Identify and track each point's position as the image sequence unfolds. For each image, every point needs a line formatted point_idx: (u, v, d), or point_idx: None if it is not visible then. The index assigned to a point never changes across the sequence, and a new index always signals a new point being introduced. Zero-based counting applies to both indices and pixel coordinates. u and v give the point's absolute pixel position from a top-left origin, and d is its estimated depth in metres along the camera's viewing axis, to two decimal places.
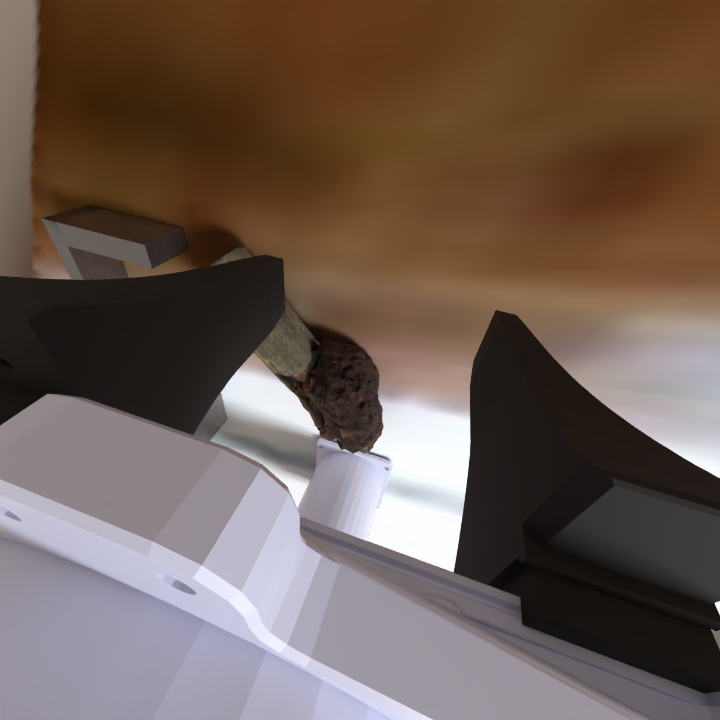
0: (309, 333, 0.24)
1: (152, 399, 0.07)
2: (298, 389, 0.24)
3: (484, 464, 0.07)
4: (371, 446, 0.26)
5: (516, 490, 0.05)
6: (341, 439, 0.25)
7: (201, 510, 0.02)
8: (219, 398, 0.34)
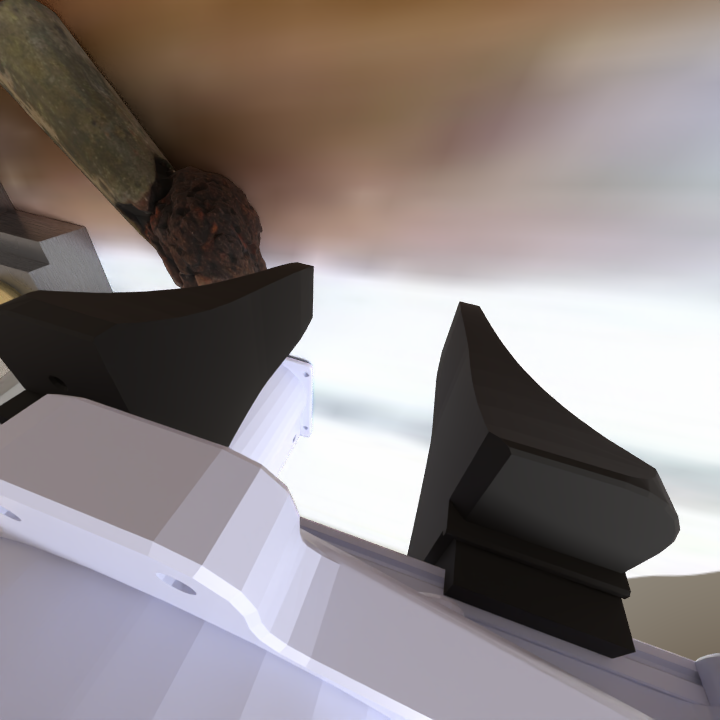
0: (158, 152, 0.18)
1: (196, 414, 0.07)
2: (148, 230, 0.19)
3: (437, 449, 0.08)
4: None
5: (450, 469, 0.06)
6: None
7: (201, 510, 0.02)
8: None
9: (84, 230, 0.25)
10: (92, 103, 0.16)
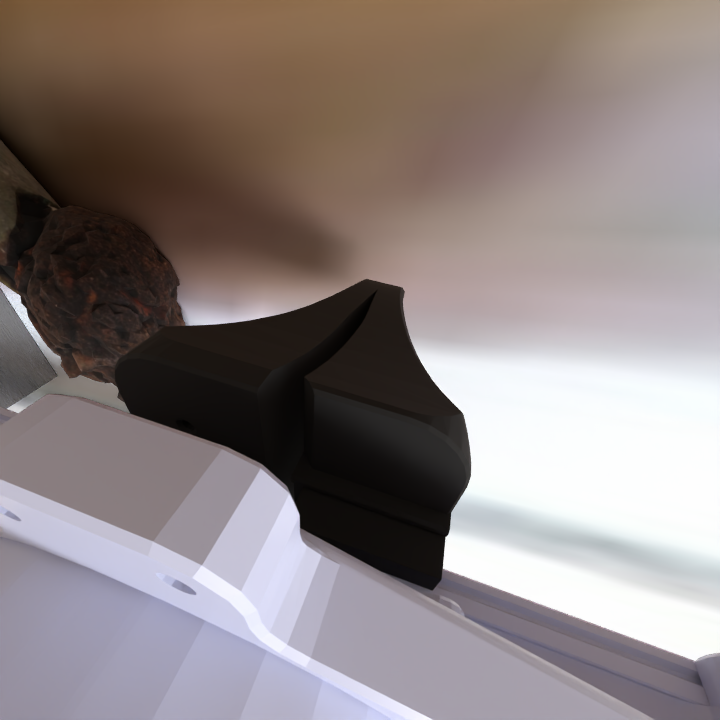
0: (26, 185, 0.14)
1: (299, 448, 0.07)
2: (17, 286, 0.14)
3: None
4: None
5: None
6: (102, 378, 0.15)
7: (201, 510, 0.02)
8: (26, 340, 0.23)
9: None
10: None
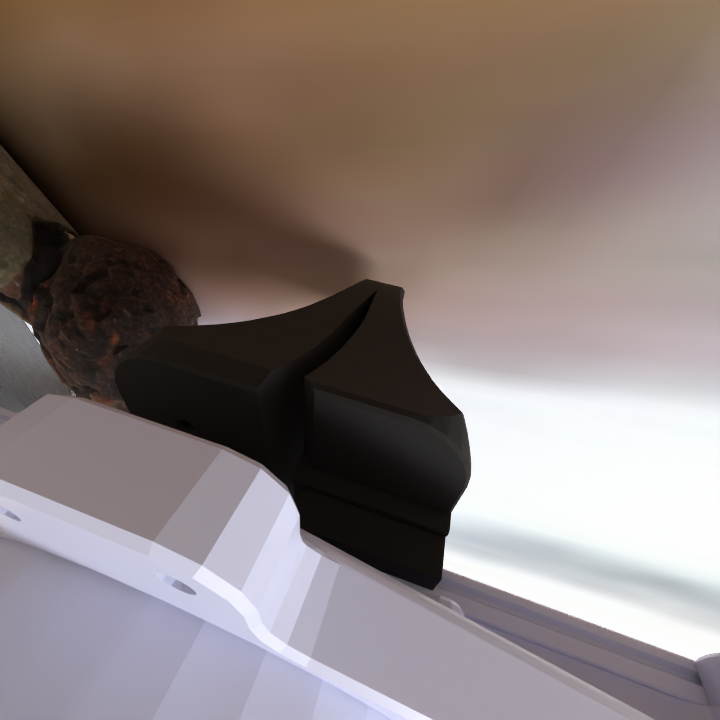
0: (42, 212, 0.13)
1: (299, 448, 0.07)
2: (29, 318, 0.13)
3: None
4: None
5: None
6: None
7: (201, 510, 0.02)
8: (40, 358, 0.22)
9: None
10: None
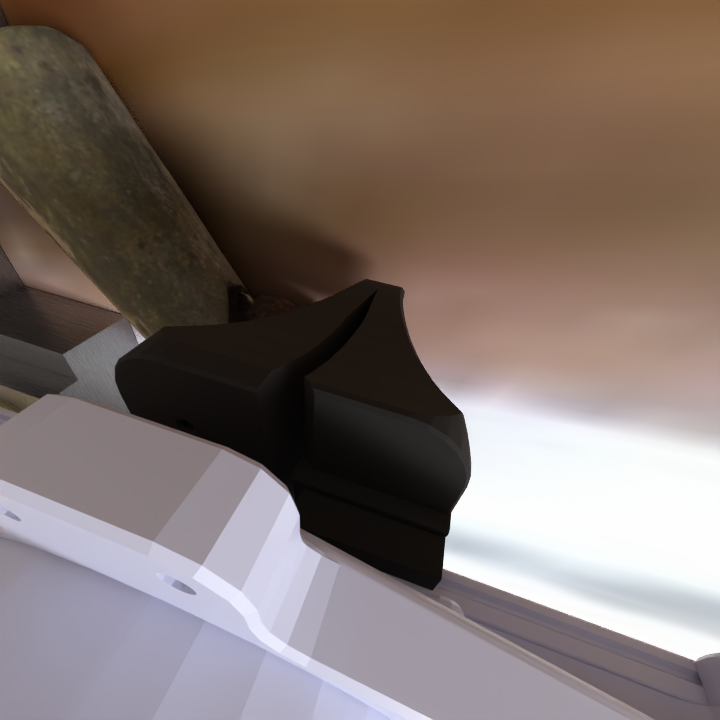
0: (231, 275, 0.12)
1: (299, 448, 0.07)
2: None
3: None
4: None
5: None
6: None
7: (201, 510, 0.02)
8: None
9: (125, 320, 0.17)
10: (141, 214, 0.10)
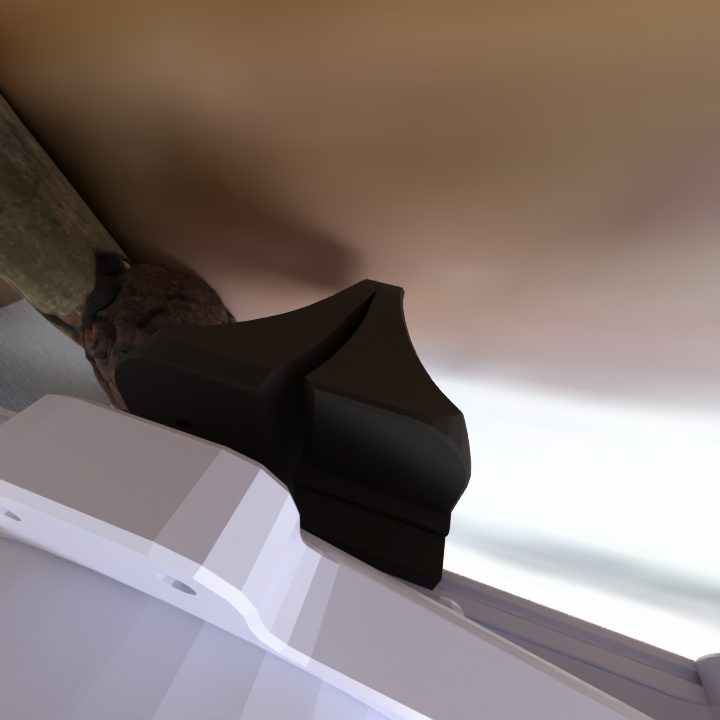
0: (103, 243, 0.13)
1: (299, 448, 0.07)
2: (83, 342, 0.14)
3: None
4: None
5: None
6: None
7: (201, 509, 0.02)
8: (87, 367, 0.22)
9: None
10: None
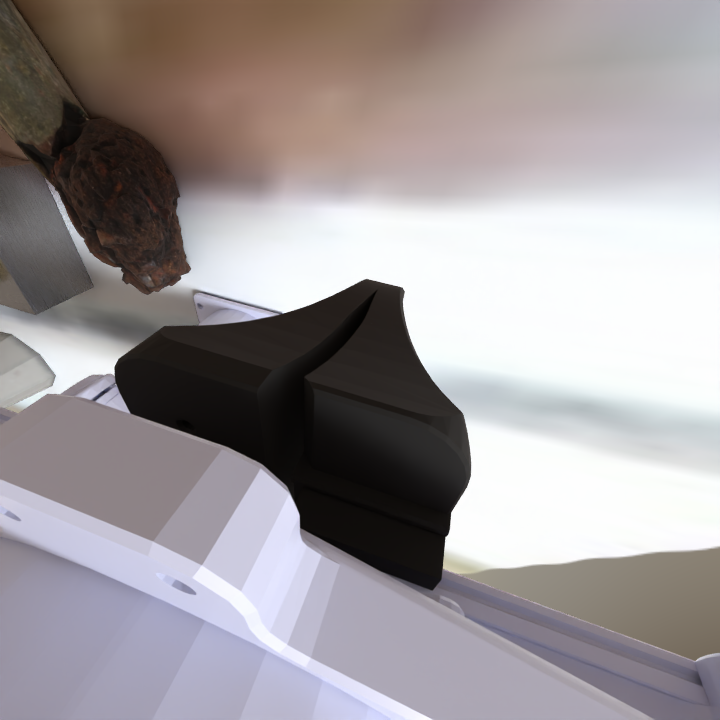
0: (69, 96, 0.18)
1: (299, 448, 0.07)
2: (53, 175, 0.19)
3: None
4: (160, 281, 0.21)
5: None
6: (114, 259, 0.20)
7: (201, 510, 0.02)
8: (69, 245, 0.26)
9: None
10: None
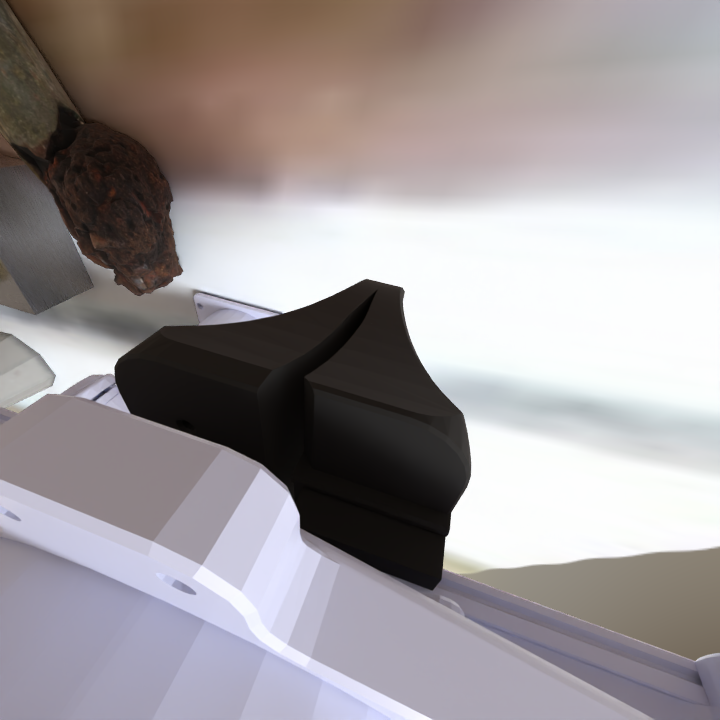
0: (64, 100, 0.18)
1: (299, 448, 0.07)
2: (47, 178, 0.19)
3: None
4: (152, 283, 0.21)
5: None
6: (106, 261, 0.20)
7: (201, 510, 0.02)
8: (69, 245, 0.26)
9: None
10: None
